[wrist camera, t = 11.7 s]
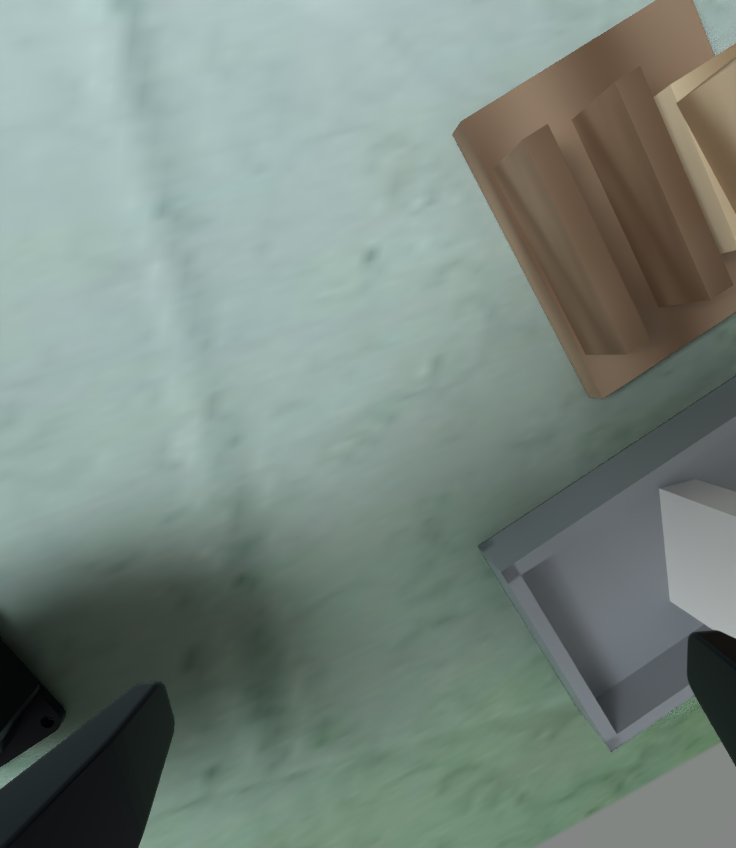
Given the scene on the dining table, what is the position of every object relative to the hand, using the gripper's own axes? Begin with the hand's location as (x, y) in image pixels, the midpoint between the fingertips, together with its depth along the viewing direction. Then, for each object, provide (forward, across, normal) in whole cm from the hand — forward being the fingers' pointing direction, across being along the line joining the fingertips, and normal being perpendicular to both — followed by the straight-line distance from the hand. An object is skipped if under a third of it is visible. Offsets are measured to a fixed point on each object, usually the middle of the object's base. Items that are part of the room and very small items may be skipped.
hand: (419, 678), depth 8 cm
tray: (+14, -12, +6) cm, 19 cm away
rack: (+14, -10, -9) cm, 20 cm away
